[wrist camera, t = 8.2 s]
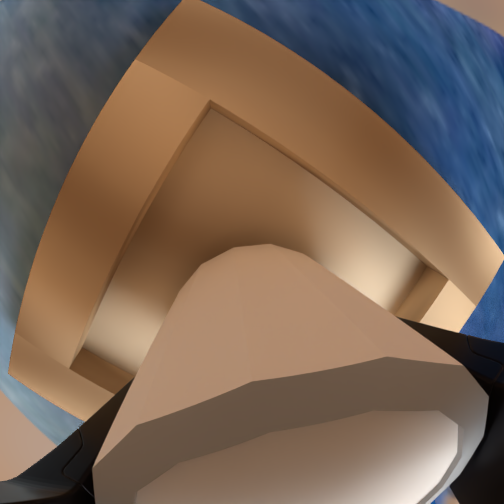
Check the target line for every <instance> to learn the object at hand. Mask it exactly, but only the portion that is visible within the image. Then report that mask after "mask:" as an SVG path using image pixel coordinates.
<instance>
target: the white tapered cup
mask: <svg viewBox="0 0 504 504" xmlns="http://www.w3.org/2000/svg"><path fill="white" fill-rule="evenodd" d="M488 400H489V396H488V395H487V394H486V392H485V391H484V390H483V389H482V387H481V386H480V385H479V384H478V382H477V381H476V380H475V379H474V377H473V376H472V375H471V374H470V373H469V371H468V370H467V369H466V368H465V367H464V365H462V364H461V363H460V362H458V361H457V360H455V359H454V358H453V357H451V356H450V355H449V354H447V353H446V352H444V351H443V350H442V349H440V348H439V347H438V346H436V345H435V344H433V343H432V342H431V341H429V340H428V339H426V338H425V337H424V336H422V335H421V334H419V333H418V332H417V331H415V330H414V329H412V328H411V327H410V326H408V325H407V324H405V323H404V322H402V321H401V320H400V319H398V318H397V317H395V316H394V315H393V314H391V313H390V312H388V311H387V310H385V309H384V308H383V307H381V306H380V305H378V304H377V303H375V302H374V301H372V300H371V299H370V298H368V297H367V296H365V295H364V294H362V293H361V292H359V291H358V290H357V289H355V288H354V287H352V286H351V285H349V284H348V283H346V282H345V281H343V280H342V279H340V278H339V277H338V276H336V275H335V274H333V273H332V272H330V271H329V270H327V269H326V268H324V267H323V266H321V265H320V264H318V263H317V262H315V261H314V260H312V259H311V258H309V257H308V256H306V255H305V254H303V253H300V252H296V251H293V250H290V249H286V248H283V247H280V246H276V245H273V244H262V245H253V246H243V247H233V248H232V249H230V250H228V251H226V252H224V253H222V254H220V255H218V256H216V257H214V258H212V259H211V260H209V261H207V262H205V263H203V264H201V265H200V267H199V268H198V269H197V270H196V271H195V273H194V274H193V275H192V276H191V278H190V279H189V280H188V281H187V282H186V284H185V285H184V286H183V287H182V289H181V290H180V291H179V293H178V295H177V297H176V299H175V301H174V302H173V304H172V306H171V308H170V310H169V312H168V314H167V316H166V317H165V319H164V321H163V323H162V325H161V327H160V329H159V331H158V333H157V335H156V337H155V339H154V341H153V342H152V344H151V346H150V348H149V350H148V352H147V354H146V356H145V358H144V360H143V362H142V364H141V366H140V368H139V370H138V372H137V374H136V376H135V378H134V380H133V382H132V384H131V386H130V388H129V390H128V392H127V394H126V397H125V399H124V401H123V403H122V405H121V407H120V409H119V411H118V413H117V415H116V417H115V420H114V422H113V424H112V426H111V428H110V430H109V432H108V434H107V437H106V439H105V441H104V443H103V445H102V448H101V450H100V452H99V454H98V456H97V459H96V461H95V463H94V465H93V468H92V473H93V485H94V495H95V503H96V504H430V503H431V502H432V501H433V500H434V499H435V498H437V497H438V496H439V495H440V494H441V493H442V492H443V491H444V490H445V489H446V488H447V487H448V486H449V485H450V484H451V483H452V482H453V481H454V480H455V479H456V478H457V477H458V476H459V475H460V474H461V472H462V471H463V469H464V467H465V466H466V464H467V463H468V461H469V460H470V458H471V456H472V455H473V453H474V451H475V450H476V448H477V446H478V445H479V443H480V441H481V439H482V438H483V436H484V431H485V424H486V417H487V409H488Z"/></svg>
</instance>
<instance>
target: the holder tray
mask: <svg viewBox="0 0 504 504" xmlns="http://www.w3.org/2000/svg"><path fill="white" fill-rule="evenodd" d="M262 244H273V245H276V246H280V247H283V248H286V249H290V250H293V251H296V252H300V253H303V254H305V255H306V256H308V257H309V258H311V259H312V260H314V261H315V262H317V263H318V264H320V265H321V266H323V267H324V268H326V269H327V270H329V271H330V272H332V273H333V274H335V275H336V276H338V277H339V278H340V279H342V280H343V281H345V282H346V283H348V284H349V285H351V286H352V287H354V288H355V289H357V290H358V291H359V292H361V293H362V294H364V295H365V296H367V297H368V298H370V299H371V300H372V301H374V302H375V303H377V304H378V305H380V306H381V307H383V308H384V309H385V310H387V311H388V312H390V313H391V314H393V315H394V316H396V317H400V318H404V319H408V320H411V321H415V322H419V323H423V324H427V325H430V326H434V327H438V328H442V329H446V330H450V331H454V332H459V331H460V330H461V328H462V327H463V325H464V324H465V322H466V321H467V319H468V318H469V317H470V315H471V314H472V312H473V310H474V309H475V307H476V306H477V304H478V303H479V301H480V300H481V298H482V296H483V295H484V293H485V291H486V290H487V288H488V286H489V285H490V283H491V281H492V280H493V278H494V276H495V274H496V273H497V271H498V269H499V267H500V265H501V264H502V262H503V260H504V255H503V253H502V252H501V250H500V249H499V248H498V246H497V245H496V243H495V242H494V241H493V239H492V238H491V236H490V235H489V234H488V232H487V231H486V230H485V228H484V227H483V226H482V225H481V223H480V222H479V221H478V219H477V218H476V217H475V216H474V214H473V213H472V212H471V211H470V209H469V208H468V207H467V206H466V205H465V203H464V202H463V201H462V200H461V199H460V197H459V196H458V195H457V194H456V193H455V192H454V191H453V189H452V188H451V187H450V186H449V185H448V184H447V183H446V182H445V180H444V179H443V178H442V177H441V176H440V175H439V174H438V173H437V172H436V171H435V170H434V169H433V168H432V166H431V165H430V164H429V163H428V162H427V161H426V160H425V159H424V158H423V157H422V156H421V155H420V154H419V153H418V152H417V151H416V150H415V149H414V148H413V147H412V146H411V145H410V144H409V143H408V142H407V141H405V140H404V139H403V138H402V137H401V136H400V135H399V134H398V133H397V132H396V131H395V130H394V129H393V128H392V127H390V126H389V125H388V124H387V123H386V122H385V121H384V120H383V119H381V118H380V117H379V116H378V115H377V114H376V113H374V112H373V111H372V110H371V109H370V108H369V107H367V106H366V105H365V104H364V103H363V102H361V101H360V100H359V99H358V98H356V97H355V96H354V95H353V94H351V93H350V92H349V91H348V90H346V89H345V88H344V87H342V86H341V85H340V84H338V83H337V82H336V81H334V80H333V79H332V78H330V77H329V76H328V75H326V74H325V73H324V72H322V71H321V70H319V69H318V68H317V67H315V66H314V65H312V64H311V63H309V62H308V61H306V60H305V59H303V58H302V57H300V56H299V55H297V54H296V53H294V52H293V51H291V50H290V49H288V48H287V47H285V46H283V45H282V44H280V43H279V42H277V41H275V40H274V39H272V38H270V37H269V36H267V35H265V34H264V33H262V32H260V31H259V30H257V29H255V28H253V27H251V26H250V25H248V24H246V23H244V22H242V21H241V20H239V19H237V18H235V17H233V16H231V15H229V14H227V13H225V12H223V11H221V10H219V9H217V8H215V7H213V6H211V5H209V4H207V3H205V2H202V1H200V0H182V1H181V3H180V4H179V5H178V6H177V7H176V8H175V9H174V11H173V12H172V13H171V14H170V15H169V16H168V18H167V19H166V20H165V21H164V22H163V24H162V25H161V26H160V27H159V28H158V30H157V31H156V32H155V33H154V35H153V36H152V37H151V39H150V40H149V41H148V42H147V44H146V45H145V46H144V48H143V49H142V50H141V52H140V53H139V54H138V56H137V57H136V59H135V60H134V61H133V63H132V64H131V66H130V67H129V68H128V70H127V71H126V73H125V74H124V76H123V77H122V79H121V80H120V82H119V83H118V85H117V86H116V88H115V89H114V91H113V93H112V94H111V96H110V97H109V99H108V101H107V102H106V104H105V105H104V107H103V109H102V110H101V112H100V114H99V116H98V117H97V119H96V121H95V122H94V124H93V126H92V128H91V130H90V131H89V133H88V135H87V137H86V139H85V141H84V142H83V144H82V146H81V148H80V150H79V152H78V154H77V156H76V158H75V160H74V162H73V164H72V166H71V168H70V170H69V172H68V175H67V177H66V179H65V181H64V183H63V186H62V188H61V190H60V192H59V195H58V197H57V199H56V202H55V204H54V207H53V209H52V211H51V214H50V216H49V219H48V222H47V224H46V227H45V230H44V232H43V235H42V238H41V241H40V243H39V246H38V249H37V252H36V255H35V258H34V261H33V265H32V268H31V271H30V274H29V278H28V281H27V285H26V288H25V292H24V296H23V300H22V304H21V308H20V312H19V316H18V320H17V325H16V330H15V335H14V340H13V345H12V351H11V357H10V363H9V370H8V374H10V375H11V376H12V377H14V378H15V379H16V380H18V381H19V382H21V383H22V384H24V385H25V386H27V387H28V388H29V389H31V390H32V391H34V392H36V393H37V394H39V395H40V396H42V397H43V398H45V399H46V400H48V401H50V402H51V403H53V404H55V405H56V406H58V407H60V408H61V409H63V410H65V411H66V412H68V413H70V414H72V415H74V416H75V417H77V418H79V419H81V420H83V421H85V422H86V421H87V420H88V419H89V418H90V417H91V416H92V415H93V414H94V413H96V412H97V411H98V410H99V409H100V408H101V407H102V406H103V405H104V404H105V403H106V402H108V401H109V400H110V399H111V398H112V397H113V396H114V395H115V394H116V393H117V392H118V391H120V390H121V389H122V388H123V387H124V386H125V385H126V384H127V383H128V382H129V381H130V380H131V379H133V378H134V377H135V376H136V374H137V372H138V370H139V368H140V366H141V364H142V362H143V360H144V358H145V356H146V354H147V352H148V350H149V348H150V346H151V344H152V342H153V341H154V339H155V337H156V335H157V333H158V331H159V329H160V327H161V325H162V323H163V321H164V319H165V317H166V316H167V314H168V312H169V310H170V308H171V306H172V304H173V302H174V301H175V299H176V297H177V295H178V293H179V291H180V290H181V289H182V287H183V286H184V285H185V284H186V282H187V281H188V280H189V279H190V278H191V276H192V275H193V274H194V273H195V271H196V270H197V269H198V268H199V267H200V265H201V264H203V263H205V262H207V261H209V260H211V259H212V258H214V257H216V256H218V255H220V254H222V253H224V252H226V251H228V250H230V249H232V248H233V247H243V246H253V245H262Z"/></svg>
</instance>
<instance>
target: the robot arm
mask: <svg viewBox="0 0 504 504" xmlns="http://www.w3.org/2000/svg"><path fill="white" fill-rule="evenodd" d="M395 317H396V316H395ZM397 318H398V319H400V320H401V321H402V322H404V323H405V324H407V325H408V326H410V327H411V328H412V329H414V330H415V331H417V332H418V333H419V334H421V335H422V336H424V337H425V338H426V339H428V340H429V341H431V342H432V343H433V344H435V345H436V346H438V347H439V348H440V349H442V350H443V351H444V352H446V353H447V354H449V355H450V356H451V357H453V358H454V359H455V360H457V361H458V362H460V363H461V364H462V365H464V367H465V368H466V369H467V370H468V371H469V373H470V374H471V375H472V376H473V377H474V379H475V380H476V381H477V382H478V384H479V385H480V386H481V387H482V389H483V390H484V391H485V392H486V394H487V395H488V396H489V400H488V409H487V417H486V424H485V431H484V436H483V438H482V439H481V441H480V443H479V445H478V446H477V448H476V450H475V451H474V453H473V455H472V456H471V458H470V460H469V461H468V463H467V464H466V466H465V467H464V469H463V471H462V472H461V474H460V475H459V476H458V477H457V478H456V479H455V480H454V481H453V482H452V483H451V484H450V486H449V487H450V489H451V490H452V492H453V494H454V496H455V497H456V499H457V501H458V502H459V504H504V343H502V342H496V341H491V340H486V339H482V338H477V337H474V336H470V335H468V336H467V335H465V334H461V333H458V332H454V331H450V330H446V329H442V328H438V327H434V326H430V325H427V324H423V323H419V322H415V321H411V320H408V319H404V318H400V317H397ZM134 378H135V377H134ZM134 378H133V379H131V380H130V381H129V382H128V383H127V384H126V385H125V386H124V387H123V388H122V389H121V390H120V391H118V392H117V393H116V394H115V395H114V396H113V397H112V398H111V399H110V400H109V401H108V402H106V403H105V404H104V405H103V406H102V407H101V408H100V409H99V410H98V411H97V412H96V413H94V414H93V415H92V416H91V417H90V418H89V419H88V420H87V421H86V422H85V423H83V424H82V425H81V426H80V427H79V429H77V430H76V431H75V432H74V433H72V434H71V435H70V436H69V437H68V438H67V439H66V440H65V441H63V442H62V443H61V444H60V445H59V446H57V447H56V448H55V449H54V450H52V451H51V452H50V453H48V454H47V455H46V456H44V457H43V458H42V459H40V460H39V461H38V462H37V463H35V464H34V465H32V466H31V467H30V468H28V469H27V470H26V471H24V472H23V473H21V474H20V475H19V476H17V477H15V478H13V479H11V480H7V481H0V504H96V503H95V495H94V485H93V473H92V468H93V465H94V463H95V461H96V459H97V456H98V454H99V452H100V450H101V448H102V445H103V443H104V441H105V439H106V437H107V434H108V432H109V430H110V428H111V426H112V424H113V422H114V420H115V417H116V415H117V413H118V411H119V409H120V407H121V405H122V403H123V401H124V399H125V397H126V394H127V392H128V390H129V388H130V386H131V384H132V382H133V380H134Z"/></svg>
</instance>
